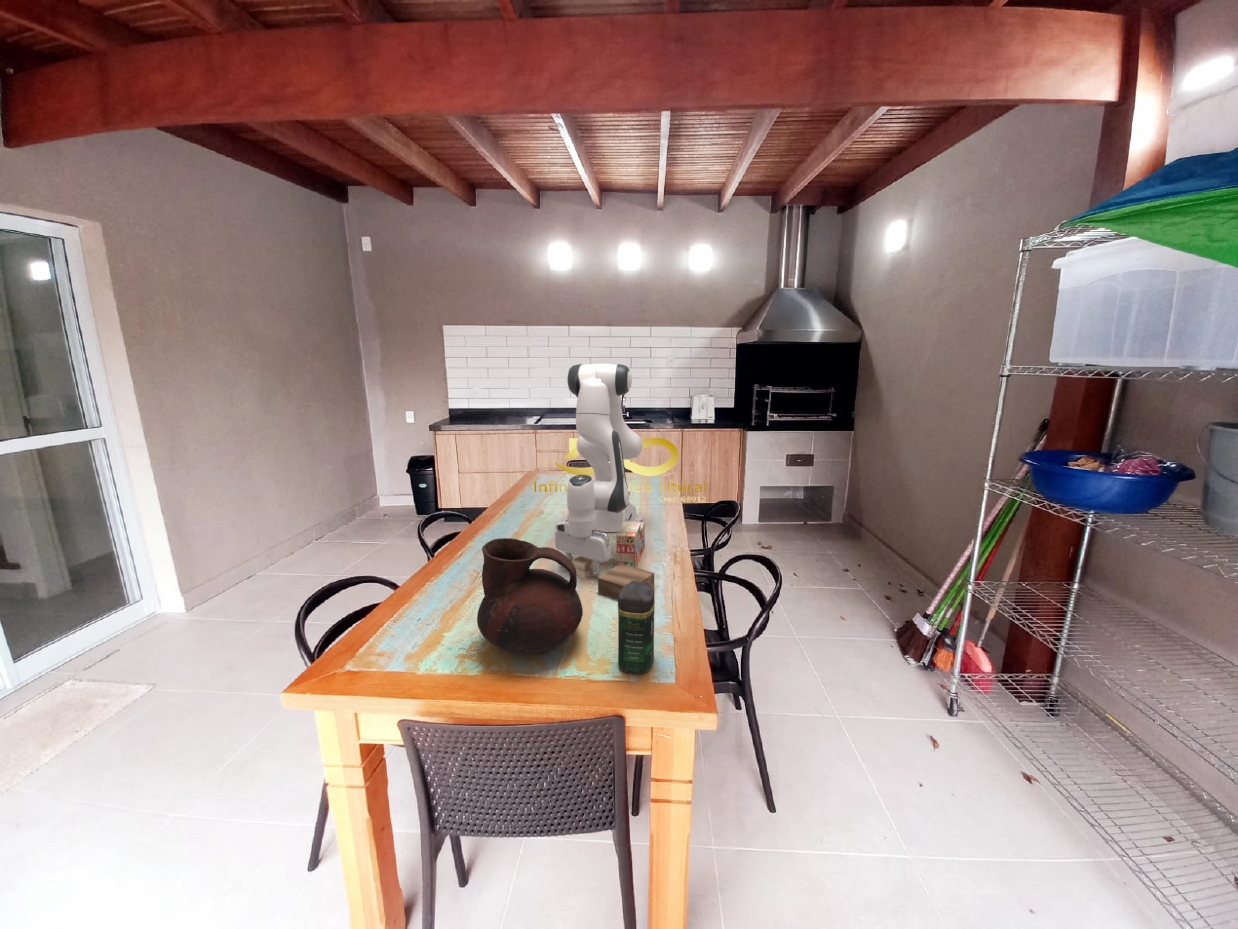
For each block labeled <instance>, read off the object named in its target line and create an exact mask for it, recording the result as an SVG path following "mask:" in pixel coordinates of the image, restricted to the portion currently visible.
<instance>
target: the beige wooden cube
mask: <svg viewBox="0 0 1238 929" xmlns="http://www.w3.org/2000/svg"><path fill="white" fill-rule="evenodd" d="M573 559H574V560H572V563H573V564H574V566H575V568H576V577H577V578H581V579H584V578H585V579H586V578H589V577H590V576H592V575H593V574H594V573H595V572H592V571H591V570H592V569H591V567H592V566H594V565H595V563H594V560H592V559H588V558H585V557H581V556H577V557H576V558H573ZM589 575H590V576H589Z"/></svg>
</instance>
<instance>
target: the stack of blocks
mask: <svg viewBox="0 0 1238 929" xmlns="http://www.w3.org/2000/svg"><path fill="white" fill-rule="evenodd" d="M645 535H646V533H645V522H644V521H641V522H623V524H622V526H621V528H620V530H619V531H618V532H616V537H615V538H616V542H615V543H616V545H615V546H616V547H615V548H616V566H618V565H619V564H625V565H628V566H632V567H635V568H638V564H639V563H640V560H641V557H642V553H643V551H644V548H645V543H646V542H645V540H646V537H645Z"/></svg>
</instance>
